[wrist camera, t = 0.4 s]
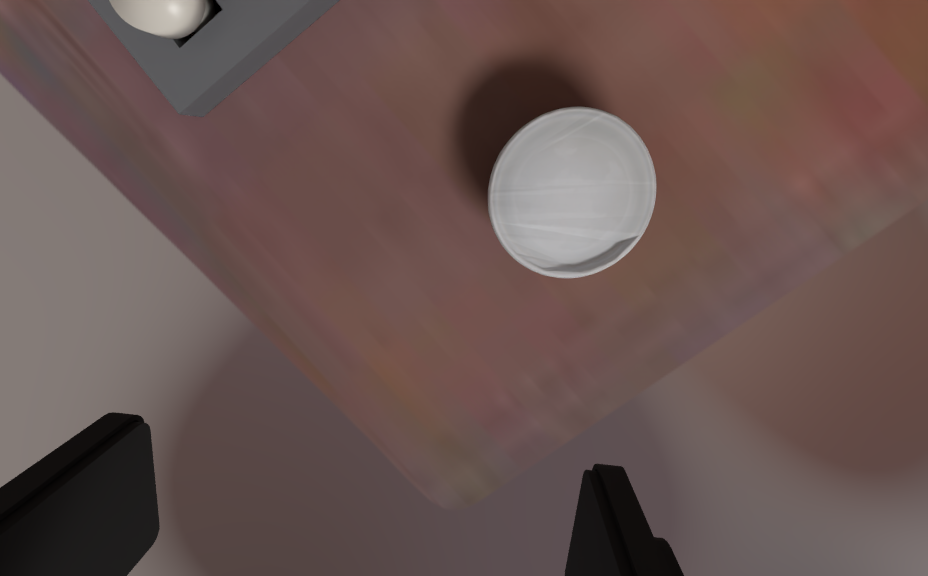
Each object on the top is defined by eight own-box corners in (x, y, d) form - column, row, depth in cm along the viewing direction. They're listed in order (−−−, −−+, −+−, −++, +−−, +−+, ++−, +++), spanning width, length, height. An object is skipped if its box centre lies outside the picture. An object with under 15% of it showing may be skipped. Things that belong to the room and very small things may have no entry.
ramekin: (524, 284, 40) (529, 304, 35) (461, 157, 37) (458, 158, 32) (656, 223, 38) (682, 235, 33) (600, 84, 35) (619, 74, 30)
